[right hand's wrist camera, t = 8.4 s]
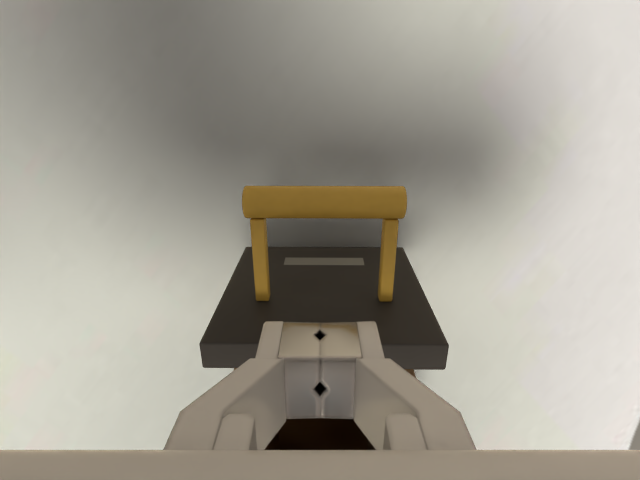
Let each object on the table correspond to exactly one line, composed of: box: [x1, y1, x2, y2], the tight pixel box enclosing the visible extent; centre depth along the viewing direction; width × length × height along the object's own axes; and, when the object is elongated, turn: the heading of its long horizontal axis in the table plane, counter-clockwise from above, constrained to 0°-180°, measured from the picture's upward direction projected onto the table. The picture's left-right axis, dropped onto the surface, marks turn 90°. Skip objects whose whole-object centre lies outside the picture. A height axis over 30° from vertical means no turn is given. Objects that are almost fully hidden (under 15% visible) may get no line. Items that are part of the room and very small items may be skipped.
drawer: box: [200, 186, 449, 450], centre depth 22 cm, size 25×10×10 cm, turn 0°
